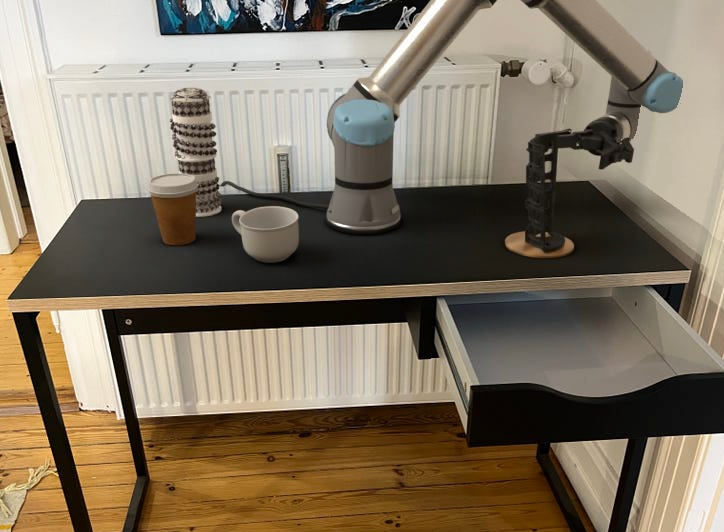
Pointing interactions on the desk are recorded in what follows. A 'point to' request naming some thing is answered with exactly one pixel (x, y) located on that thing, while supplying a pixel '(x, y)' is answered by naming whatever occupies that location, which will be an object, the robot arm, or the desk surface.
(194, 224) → the disposable coffee cup
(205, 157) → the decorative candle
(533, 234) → the holder
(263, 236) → the teacup
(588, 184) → the desk surface
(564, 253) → the cork mat
